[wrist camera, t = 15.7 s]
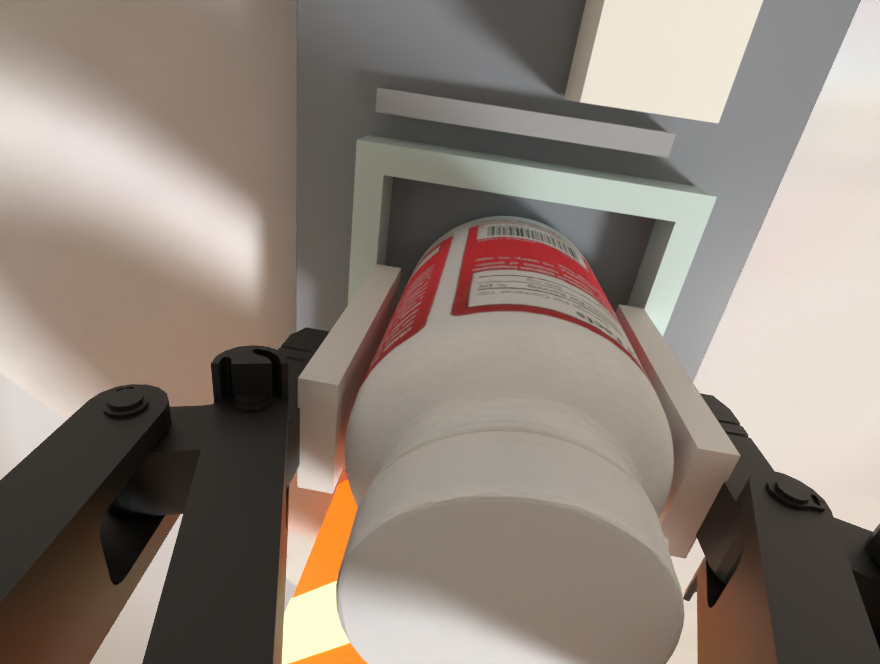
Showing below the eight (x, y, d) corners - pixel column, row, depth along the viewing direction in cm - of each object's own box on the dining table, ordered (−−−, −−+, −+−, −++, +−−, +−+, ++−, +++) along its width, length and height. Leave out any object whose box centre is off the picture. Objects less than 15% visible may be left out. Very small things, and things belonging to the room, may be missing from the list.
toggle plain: (594, -35, 12) (622, -71, 9) (717, -18, 12) (780, -48, 9) (563, 99, 13) (579, 102, 11) (674, 116, 13) (718, 123, 11)
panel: (333, -555, 10) (263, -829, 7) (1013, -480, 10) (1249, -739, 7) (312, 389, 21) (281, 440, 18) (637, 446, 21) (661, 509, 18)
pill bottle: (449, 400, 18) (391, 762, 9) (378, 251, 16) (189, 511, 6) (617, 352, 17) (784, 731, 7) (566, 179, 14) (707, 378, 5)
